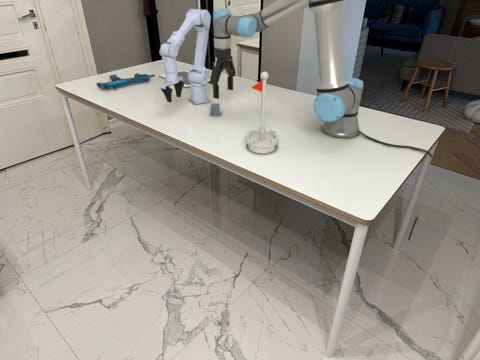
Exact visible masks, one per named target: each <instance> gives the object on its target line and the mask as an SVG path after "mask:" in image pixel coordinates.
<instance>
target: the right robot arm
mask: <svg viewBox="0 0 480 360" xmlns="http://www.w3.org/2000/svg"><path fill="white" fill-rule="evenodd" d="M343 3H344V0H276V1H274V2H273V3H271V4H269V5H268V6H266V7H264V8H263V9H260V10H259V11H257V12H255V13H251V14H246V15H242V16H241V15H240V16H239V15H232V12H231V9H229V8H216V9H214V10H213V16H212V26H213V44H214V45H213V47H214V49H213V51H214V53H213V55H214V57H215V58H216V61H212V69H211V74H210V78H209V79H210V82H209V85H212V96H213V97H212V98H213V99H217V100H219V99H220V85H219V81H220V78H221V76H222V72H223V71H224V70H225V72H226V73H227V90H228V91H234V77H236V73H237V72H236V68H235V65H234V60H233V55H232V36H236V37H241V38H253V36H254V35H255V34H256V33H260V32H264V31H266V30H268V29H269V28H270V27H271V26H274V25H275V24H277V23H279V22H281V21H284V20H285V19H287V18H289V17H292V16H293V15H295V14H297V13H300V12H301V11H304V10H305V9H307V8H308V10H309V11H311V12H312V13H313V17H314V29H315V39H316V51H317V61H318V62H317V63H318V74H319V82H318V84H317V85H316V97H315V99H314V101H313V106H312V107H313V112H314V113H315V115H316V116H317V118H319V119H320V120H321V121H324V123H323V126H322V130H323V132H324V133H325V134H326V135H329V136H332V137H335V138H339V139H341V138H342V139H349V138H354V137H356V136H357V135H359V134H360V135H362V136H363V137H365V138H367V139H369V140H371V141H373V142H375V143H379V144H382V145H385V146H389V147H395V148H406V149H411V150H412V149H413V150H416V151H421V152H423V153H426V154H427V155H428V156H429V157H430V158H434V156H433V154H432V153H431V152H430V151H428V150H427V149H424V148H419V147H415V146H411V145H402V144H401V145H400V144H392V143H388V142H384V141H381V140H378V139H375V138H373V137H370V136H368V135H367V134H365V133H364V132H363V131H360V125H359V118H358V117H359V116H358V114H359V111H360V110H359V109H360V105H361V100H362V95H363V90H364V81H363V80H362V79H359V78H356V77H351V76H350V77H349V76H344V65H343V64H344V63H343V48H342V47H343V45H342V32H341V29H342V28H341V15H340V14H341V13H340V8H341V6H342V4H343ZM418 219H419V216H416V217H415V219H414V222H413V224H412V227H411V229H410V232H409V234H408V235H409V236H408V238H407V241H410V240H411V237H412V235H413V232H414V229H415V226H416V225H417V221H418Z"/></svg>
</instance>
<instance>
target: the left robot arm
mask: <svg viewBox="0 0 480 360" xmlns="http://www.w3.org/2000/svg"><path fill="white" fill-rule="evenodd" d="M211 20H212V16H211V14H210V12H209V11H208V10H207V9H197V8H189V9H188V11H187V12H186V14H185V19H184V21H183V22H182V24H181V26H180V27H179V29H178V30H174V31H172V34H171V36H170V37H169V38H168V39H167V41H166V42H165V43H162V44H161V45H160V47H159V52H158V53H159V55H160V56H161V60H162V61H163V69H164V74H165V77H166V79H165V78H164V82H163V83H161V84H160V90H161V92H162V93H163V95H164V97H165V99H166V102H167V103H172V101H173V95H172V94H173V90H174V91H175V96H176V97H177V98H181V97H182V92H183V89H184V82H182V81H183V77H180V76H179V77H178V74H177V71H178V63H177V56H178V55H179V51H180V48H181V46H182V45H183V43H184V42H185V40H186V37H185V36H186V35H187V34H188V33H189V32H190V30H191V29H192V28H193V27H194V28H195V29H196V31H197V35H196V44H195V53H194V60H193V65H191V66H190V67H189V70H188V71H189V73H188V81H189V82H190V84H191V86H190V87H189V90H190V91H189V92H190V97H189V98H188V99H189V100H190V101H191V102H192V103H193V104H194V105H199V104H204V103H210V100H208V98H207V84H208V83H209V82H208V80H209V79H210V77H209V70H208V68H206V65H205V64H206V56H207V50H208V43H209V42H208V41H209V33H210V27H211ZM171 86H173V87H174V89H173V88H171Z"/></svg>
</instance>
